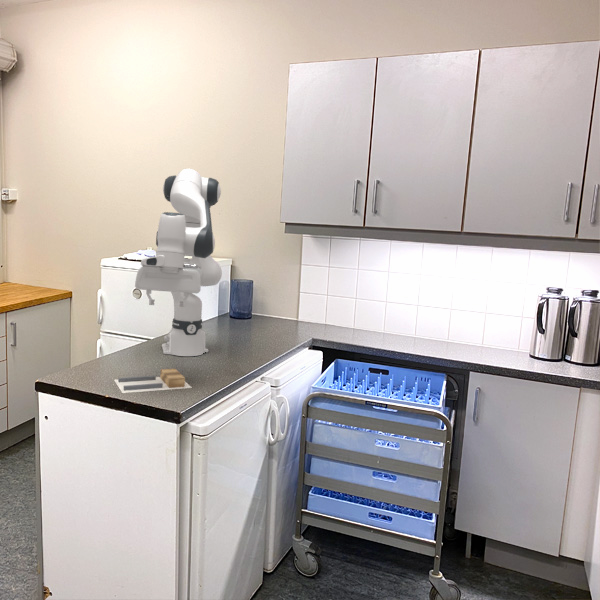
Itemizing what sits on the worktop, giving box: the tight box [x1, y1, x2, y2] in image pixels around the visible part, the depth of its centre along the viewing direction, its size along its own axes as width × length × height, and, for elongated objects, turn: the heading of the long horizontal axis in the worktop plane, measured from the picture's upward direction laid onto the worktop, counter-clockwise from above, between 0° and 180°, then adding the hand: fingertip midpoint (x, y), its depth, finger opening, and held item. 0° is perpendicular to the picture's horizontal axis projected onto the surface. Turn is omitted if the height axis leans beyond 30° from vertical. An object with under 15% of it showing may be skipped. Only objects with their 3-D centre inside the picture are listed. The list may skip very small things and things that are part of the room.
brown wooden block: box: [159, 368, 186, 388], centre depth 188 cm, size 12×5×3 cm, turn 28°
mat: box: [113, 375, 193, 394], centre depth 185 cm, size 15×22×2 cm
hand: (166, 306), depth 179 cm, fingers open, 8 cm apart
